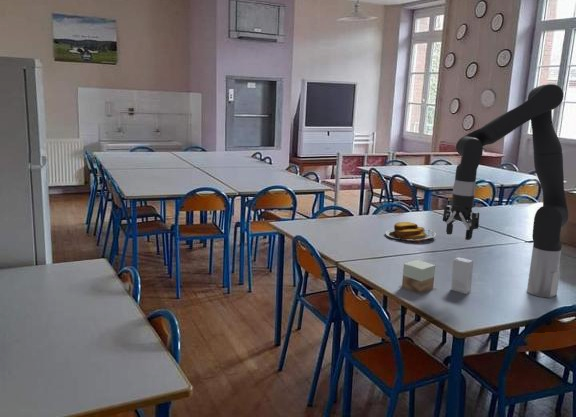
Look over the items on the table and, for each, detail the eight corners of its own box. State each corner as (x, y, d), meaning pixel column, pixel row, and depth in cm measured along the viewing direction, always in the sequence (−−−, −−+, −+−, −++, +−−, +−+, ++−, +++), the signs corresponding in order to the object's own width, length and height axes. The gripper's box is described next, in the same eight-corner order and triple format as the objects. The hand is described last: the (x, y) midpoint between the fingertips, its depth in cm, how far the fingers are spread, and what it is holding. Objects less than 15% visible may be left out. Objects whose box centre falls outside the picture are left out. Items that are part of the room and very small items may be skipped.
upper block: (434, 277, 195) (435, 265, 194) (421, 281, 190) (422, 269, 189) (415, 271, 201) (416, 259, 200) (402, 275, 196) (403, 263, 195)
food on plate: (429, 247, 253) (430, 233, 252) (378, 239, 264) (379, 226, 262) (440, 235, 276) (441, 223, 274) (392, 228, 286) (393, 216, 285)
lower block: (433, 288, 196) (434, 277, 195) (420, 293, 191) (421, 281, 190) (414, 282, 202) (415, 271, 201) (401, 286, 197) (402, 275, 196)
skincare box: (471, 292, 195) (474, 260, 192) (465, 295, 192) (469, 262, 189) (455, 287, 199) (458, 256, 197) (449, 290, 196) (453, 258, 193)
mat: (436, 289, 196) (436, 288, 196) (420, 295, 189) (420, 294, 189) (414, 282, 203) (414, 281, 203) (397, 287, 197) (398, 286, 197)
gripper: (487, 196, 187) (481, 240, 191) (455, 189, 199) (450, 231, 202) (472, 197, 183) (467, 242, 187) (441, 190, 195) (436, 233, 198)
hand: (458, 236), depth 195 cm, fingers open, 8 cm apart
